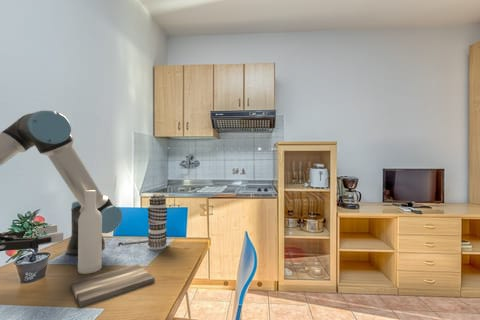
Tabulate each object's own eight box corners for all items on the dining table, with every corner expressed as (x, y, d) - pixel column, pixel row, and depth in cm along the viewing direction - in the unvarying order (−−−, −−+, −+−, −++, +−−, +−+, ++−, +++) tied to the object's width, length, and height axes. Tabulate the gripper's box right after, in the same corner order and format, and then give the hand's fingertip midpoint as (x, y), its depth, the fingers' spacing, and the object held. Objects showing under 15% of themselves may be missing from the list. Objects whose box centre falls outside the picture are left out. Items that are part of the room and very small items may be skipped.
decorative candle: (145, 250, 117) (146, 196, 117) (148, 244, 126) (148, 193, 126) (166, 249, 119) (167, 195, 119) (167, 242, 128) (167, 193, 128)
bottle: (90, 275, 92) (90, 192, 92) (72, 272, 94) (72, 191, 93) (106, 266, 100) (107, 189, 99) (90, 263, 102) (90, 188, 101)
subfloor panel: (70, 286, 84) (70, 282, 84) (137, 267, 99) (137, 263, 99) (80, 306, 73) (80, 301, 73) (154, 281, 88) (154, 277, 88)
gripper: (-24, 247, 85) (54, 234, 99) (-31, 272, 67) (66, 252, 81) (-24, 225, 85) (54, 215, 99) (-31, 243, 67) (66, 229, 81)
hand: (60, 232), depth 90 cm, fingers open, 13 cm apart
